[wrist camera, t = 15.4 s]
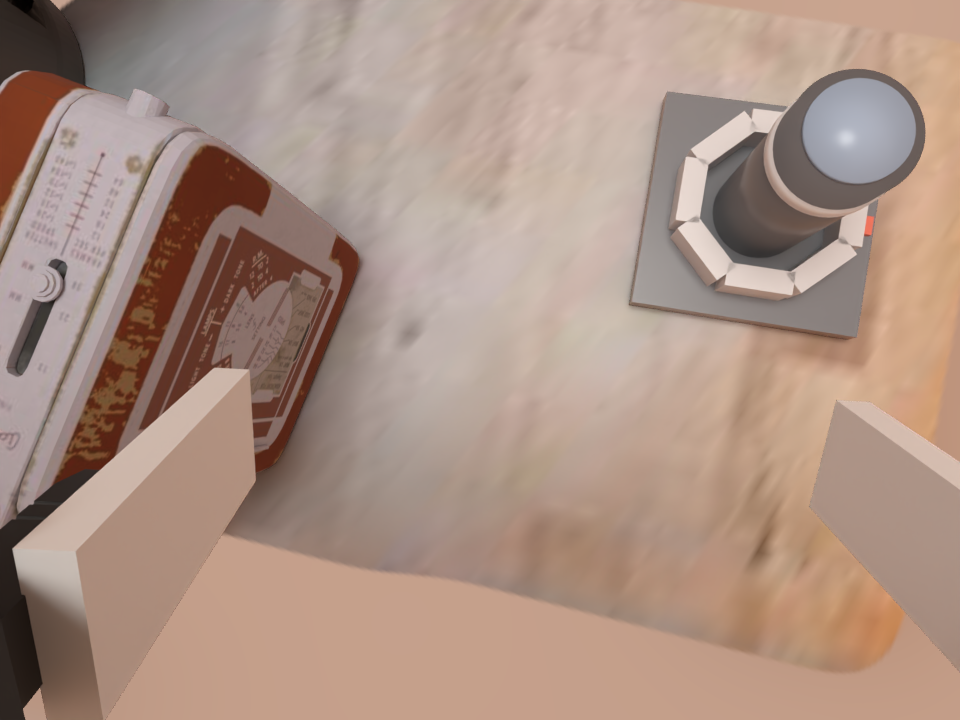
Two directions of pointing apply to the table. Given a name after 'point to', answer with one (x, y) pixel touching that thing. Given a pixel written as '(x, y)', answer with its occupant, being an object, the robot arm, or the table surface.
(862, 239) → the mount plate
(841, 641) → the table surface
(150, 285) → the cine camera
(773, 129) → the lens
